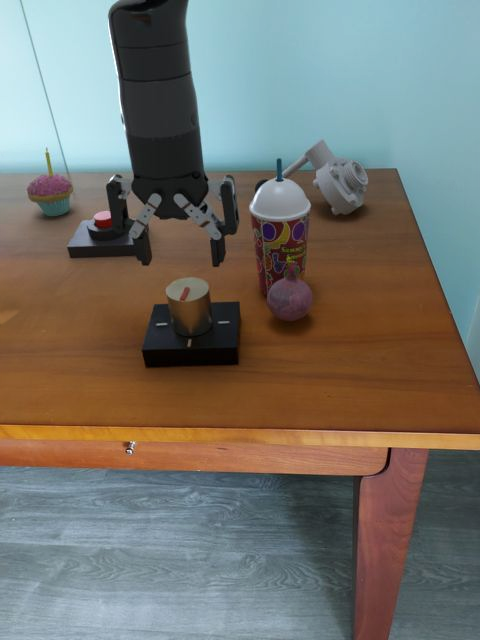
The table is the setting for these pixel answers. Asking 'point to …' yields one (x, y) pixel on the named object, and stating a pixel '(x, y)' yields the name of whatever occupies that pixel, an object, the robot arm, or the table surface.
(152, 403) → the table surface
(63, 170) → the table surface
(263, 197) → the smoothie
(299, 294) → the vegetable
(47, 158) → the cupcake
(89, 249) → the box
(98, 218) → the button
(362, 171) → the valve
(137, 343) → the table surface
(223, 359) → the dial panel
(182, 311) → the pointer knob
